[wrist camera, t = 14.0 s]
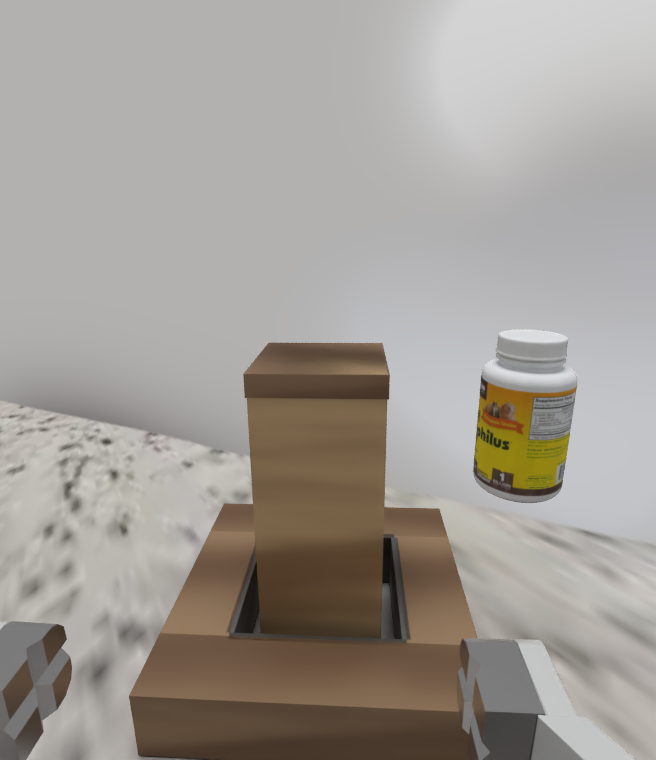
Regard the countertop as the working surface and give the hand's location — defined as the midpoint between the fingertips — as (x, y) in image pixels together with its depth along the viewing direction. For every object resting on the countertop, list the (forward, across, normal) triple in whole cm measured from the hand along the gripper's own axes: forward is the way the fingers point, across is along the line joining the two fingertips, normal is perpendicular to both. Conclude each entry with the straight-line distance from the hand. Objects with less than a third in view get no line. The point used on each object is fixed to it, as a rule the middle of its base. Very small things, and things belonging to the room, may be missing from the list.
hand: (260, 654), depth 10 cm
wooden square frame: (+9, -1, +8) cm, 12 cm away
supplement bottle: (+22, -13, +8) cm, 27 cm away
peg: (+9, -1, +8) cm, 12 cm away
